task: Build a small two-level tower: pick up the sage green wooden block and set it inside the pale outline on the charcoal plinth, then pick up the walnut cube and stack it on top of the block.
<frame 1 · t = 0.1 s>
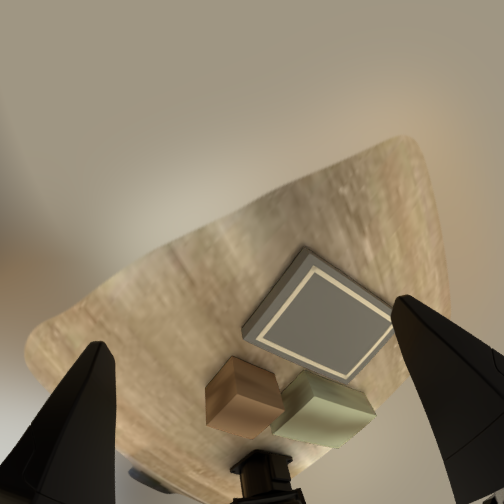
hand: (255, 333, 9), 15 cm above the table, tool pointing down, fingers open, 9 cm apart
plinth: (327, 321, 27), on the table
walnut cube: (239, 381, 29), on the table
sage block: (317, 401, 32), on the table
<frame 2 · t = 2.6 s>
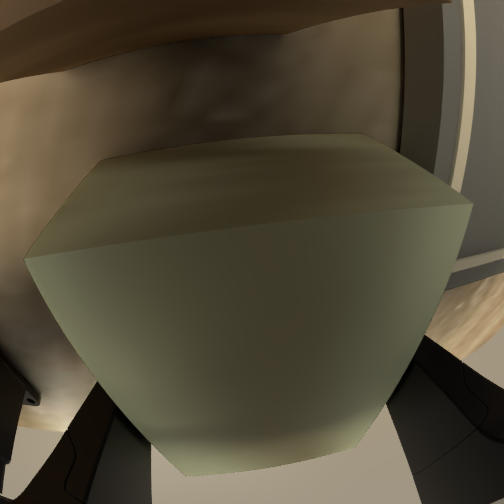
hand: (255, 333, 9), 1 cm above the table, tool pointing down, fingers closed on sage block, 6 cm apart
sage block: (248, 300, 10), on the table, touching gripper
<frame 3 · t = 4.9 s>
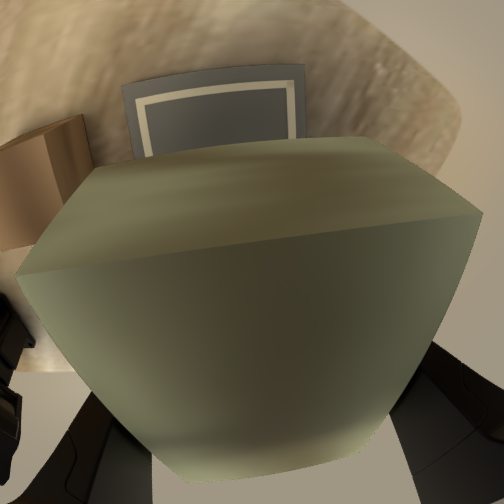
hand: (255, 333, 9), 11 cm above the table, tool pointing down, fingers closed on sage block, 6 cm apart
plinth: (223, 179, 18), on the table
walnut cube: (55, 164, 15), on the table
sage block: (249, 307, 9), point 10 cm above the table, touching gripper
when the fingers open (4 cm above the table, at t = 6.7 s): sage block drops 1 cm, resting on plinth.
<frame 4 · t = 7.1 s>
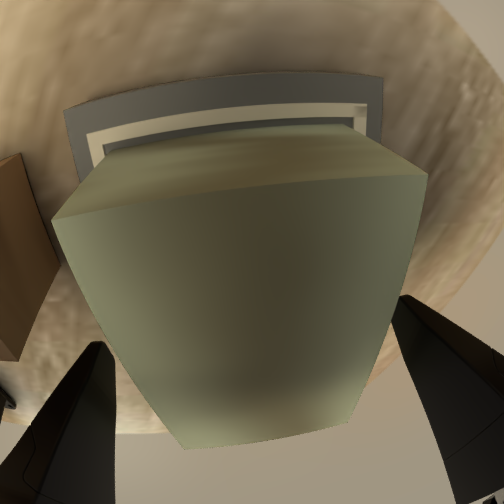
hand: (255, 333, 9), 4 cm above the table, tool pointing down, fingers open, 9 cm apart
plinth: (239, 253, 12), on the table
sage block: (242, 277, 11), point 1 cm above the table, touching plinth
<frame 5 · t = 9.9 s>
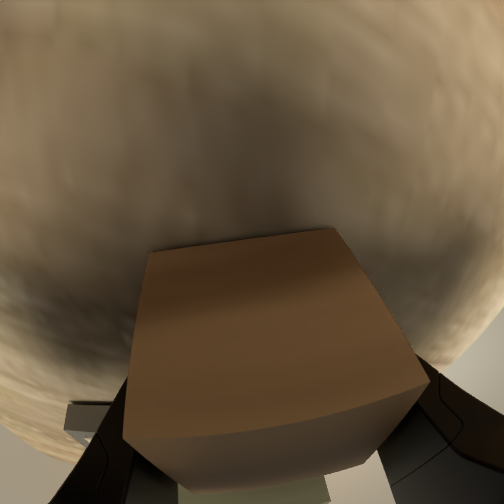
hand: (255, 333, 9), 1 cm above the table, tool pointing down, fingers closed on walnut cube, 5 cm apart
plinth: (209, 436, 15), on the table
walnut cube: (249, 308, 9), on the table, touching gripper
sage block: (211, 459, 14), point 1 cm above the table, touching plinth
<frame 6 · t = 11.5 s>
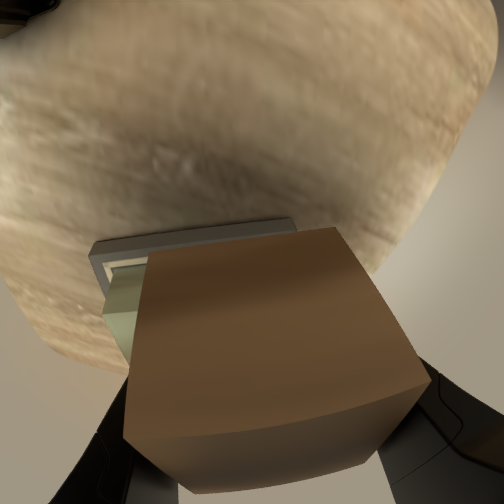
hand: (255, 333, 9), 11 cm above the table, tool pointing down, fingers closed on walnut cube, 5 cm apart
plinth: (198, 284, 22), on the table
walnut cube: (250, 307, 9), point 10 cm above the table, touching gripper
sage block: (199, 298, 20), point 1 cm above the table, touching plinth
when the fingers open (8 cm above the table, at t = 12.8 s): walnut cube drops 1 cm, resting on sage block.
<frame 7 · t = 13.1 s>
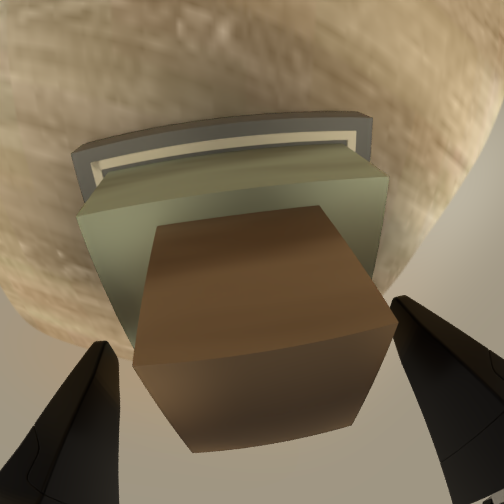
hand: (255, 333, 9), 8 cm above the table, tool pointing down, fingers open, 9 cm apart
plinth: (230, 208, 15), on the table
walnut cube: (245, 279, 11), point 5 cm above the table, touching sage block
sage block: (233, 221, 14), point 1 cm above the table, touching plinth, walnut cube
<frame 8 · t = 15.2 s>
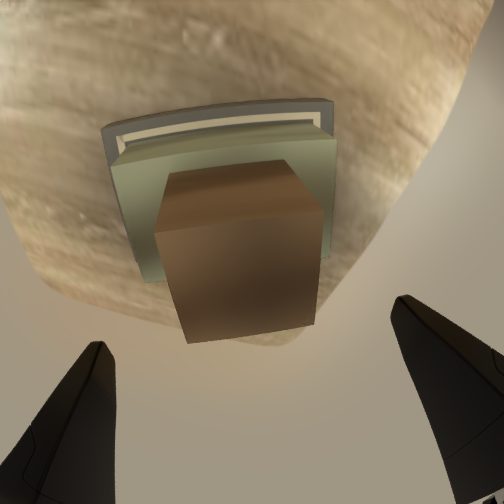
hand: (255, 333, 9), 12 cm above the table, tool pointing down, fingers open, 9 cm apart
plinth: (223, 175, 19), on the table
walnut cube: (232, 216, 14), point 5 cm above the table, touching sage block
sage block: (225, 183, 18), point 1 cm above the table, touching plinth, walnut cube
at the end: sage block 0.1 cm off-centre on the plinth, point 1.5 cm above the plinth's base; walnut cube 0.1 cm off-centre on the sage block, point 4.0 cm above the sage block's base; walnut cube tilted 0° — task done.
